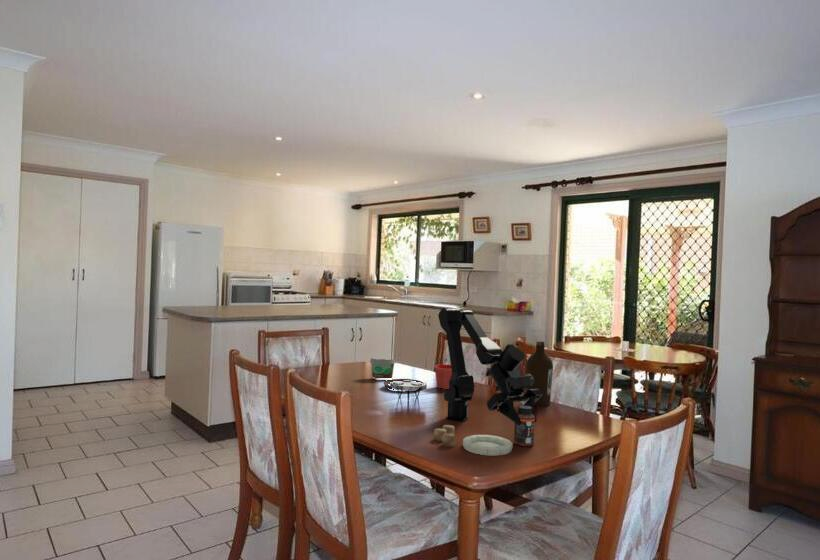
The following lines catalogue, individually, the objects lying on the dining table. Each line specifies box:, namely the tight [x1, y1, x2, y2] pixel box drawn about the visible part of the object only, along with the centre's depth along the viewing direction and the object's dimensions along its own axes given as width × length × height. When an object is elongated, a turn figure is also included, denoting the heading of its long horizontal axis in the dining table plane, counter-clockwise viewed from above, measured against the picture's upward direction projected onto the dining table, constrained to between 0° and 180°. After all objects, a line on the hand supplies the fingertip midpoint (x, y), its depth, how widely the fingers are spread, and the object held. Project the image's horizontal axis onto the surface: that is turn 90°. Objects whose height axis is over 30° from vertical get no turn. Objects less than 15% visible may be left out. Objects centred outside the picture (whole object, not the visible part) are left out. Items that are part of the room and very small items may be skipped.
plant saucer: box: [382, 378, 425, 390], centre depth 240 cm, size 18×18×3 cm
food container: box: [369, 356, 396, 379], centre depth 259 cm, size 12×6×10 cm, turn 81°
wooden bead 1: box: [433, 427, 446, 442], centre depth 167 cm, size 4×4×3 cm
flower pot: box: [434, 364, 452, 390], centre depth 245 cm, size 11×11×10 cm
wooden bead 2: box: [442, 424, 455, 435], centre depth 171 cm, size 4×4×3 cm
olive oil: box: [525, 340, 554, 407], centre depth 221 cm, size 11×11×25 cm
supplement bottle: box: [513, 405, 536, 447], centre depth 165 cm, size 6×6×11 cm
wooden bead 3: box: [442, 433, 456, 448], centre depth 162 cm, size 4×4×3 cm
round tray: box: [462, 434, 513, 457], centre depth 161 cm, size 14×14×2 cm
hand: (528, 423), depth 164 cm, fingers closed on supplement bottle, 6 cm apart
